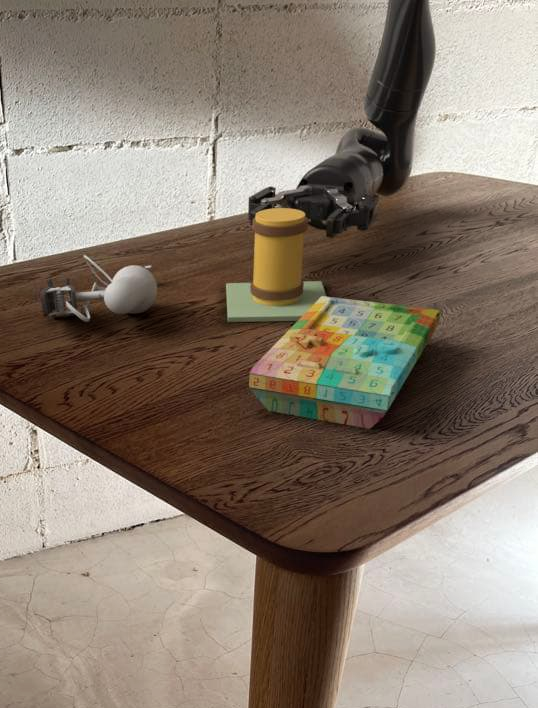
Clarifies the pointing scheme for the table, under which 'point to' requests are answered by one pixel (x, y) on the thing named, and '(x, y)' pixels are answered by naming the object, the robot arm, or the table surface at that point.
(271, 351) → the puzzle game
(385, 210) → the table surface
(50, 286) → the clip-on lamp
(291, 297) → the stacking piece
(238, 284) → the green mat
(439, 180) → the table surface
